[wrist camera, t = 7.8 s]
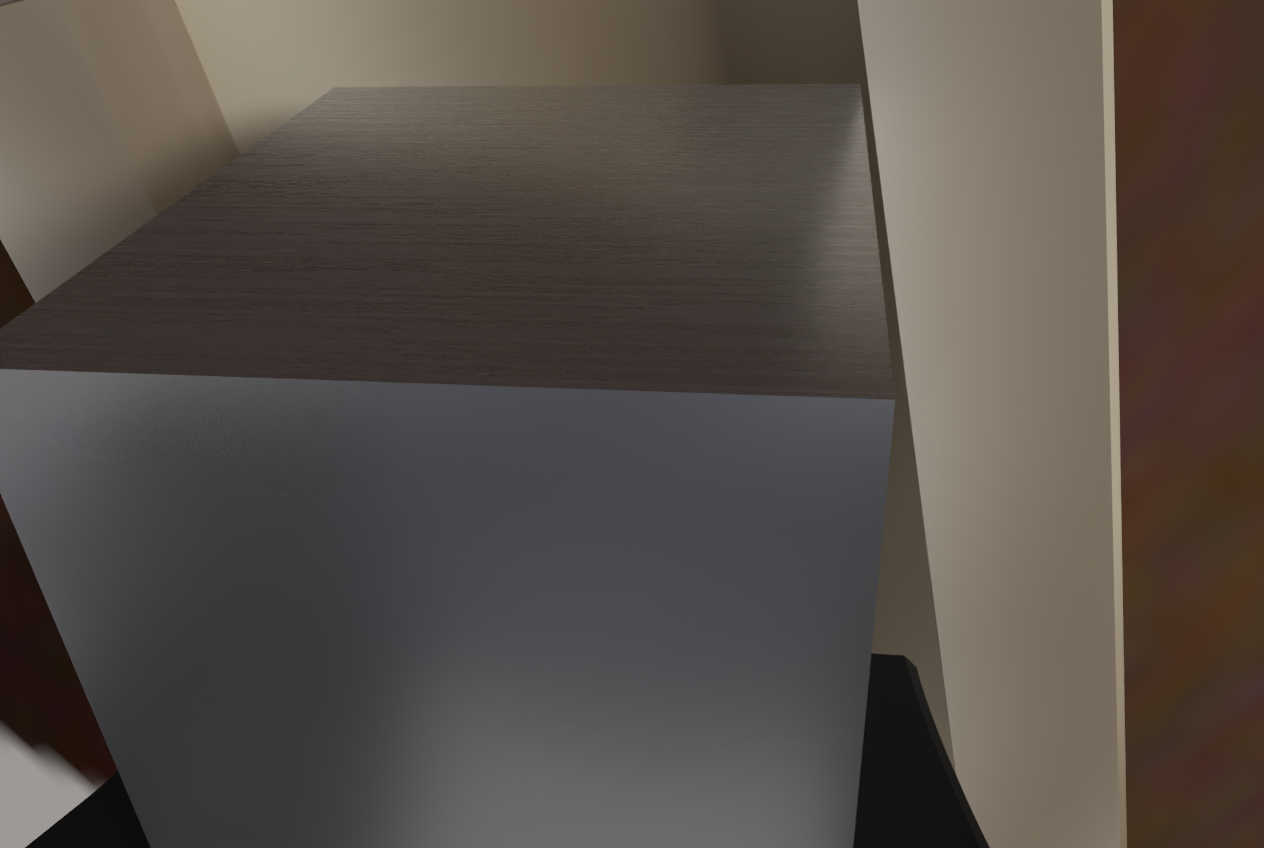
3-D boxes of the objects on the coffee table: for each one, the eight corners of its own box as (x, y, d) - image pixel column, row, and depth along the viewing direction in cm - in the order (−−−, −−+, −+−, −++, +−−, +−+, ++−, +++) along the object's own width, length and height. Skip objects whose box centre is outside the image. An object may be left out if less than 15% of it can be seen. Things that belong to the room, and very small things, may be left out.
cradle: (444, 818, 18) (388, 984, 15) (49, -18, 11) (-151, 47, 9) (1106, 792, 15) (1159, 984, 13) (1074, -290, 9) (1165, -298, 7)
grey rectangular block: (483, 893, 14) (355, 1331, 10) (333, 87, 9) (-52, 366, 5) (806, 927, 13) (800, 1405, 9) (859, 84, 8) (896, 397, 4)
